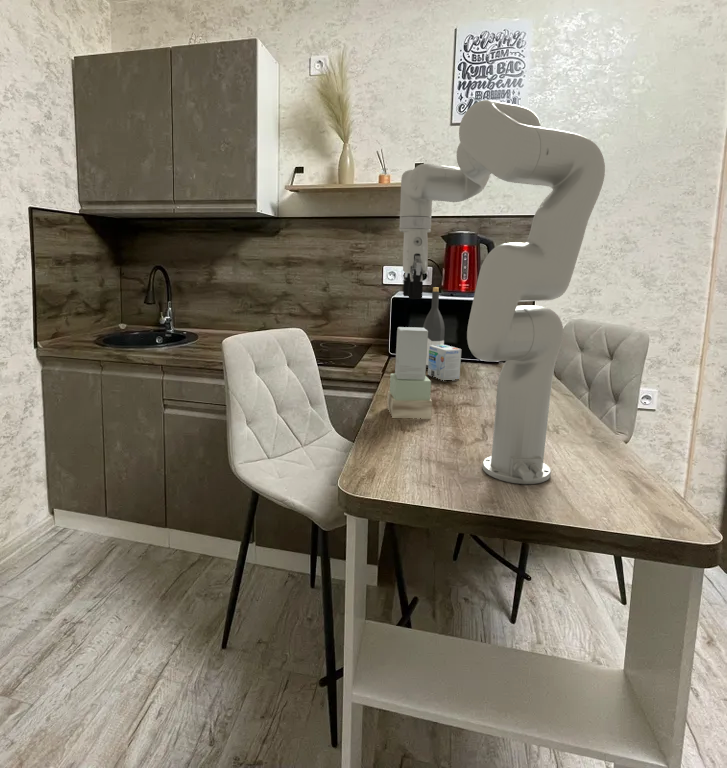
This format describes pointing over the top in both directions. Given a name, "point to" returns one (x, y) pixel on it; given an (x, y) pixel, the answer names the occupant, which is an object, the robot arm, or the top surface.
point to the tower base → (409, 408)
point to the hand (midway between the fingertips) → (412, 297)
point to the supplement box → (411, 353)
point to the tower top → (410, 388)
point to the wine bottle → (434, 324)
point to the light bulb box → (444, 362)
